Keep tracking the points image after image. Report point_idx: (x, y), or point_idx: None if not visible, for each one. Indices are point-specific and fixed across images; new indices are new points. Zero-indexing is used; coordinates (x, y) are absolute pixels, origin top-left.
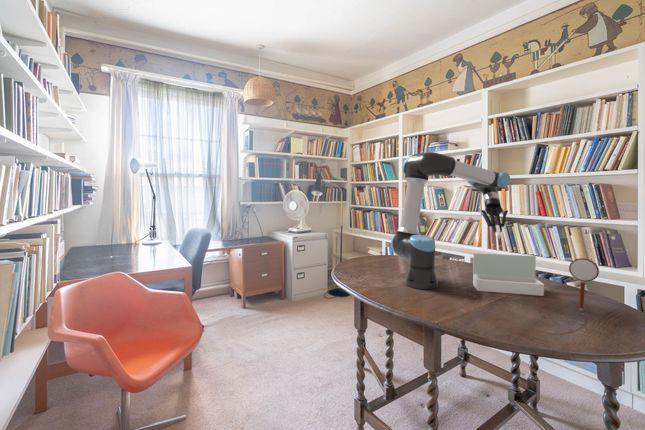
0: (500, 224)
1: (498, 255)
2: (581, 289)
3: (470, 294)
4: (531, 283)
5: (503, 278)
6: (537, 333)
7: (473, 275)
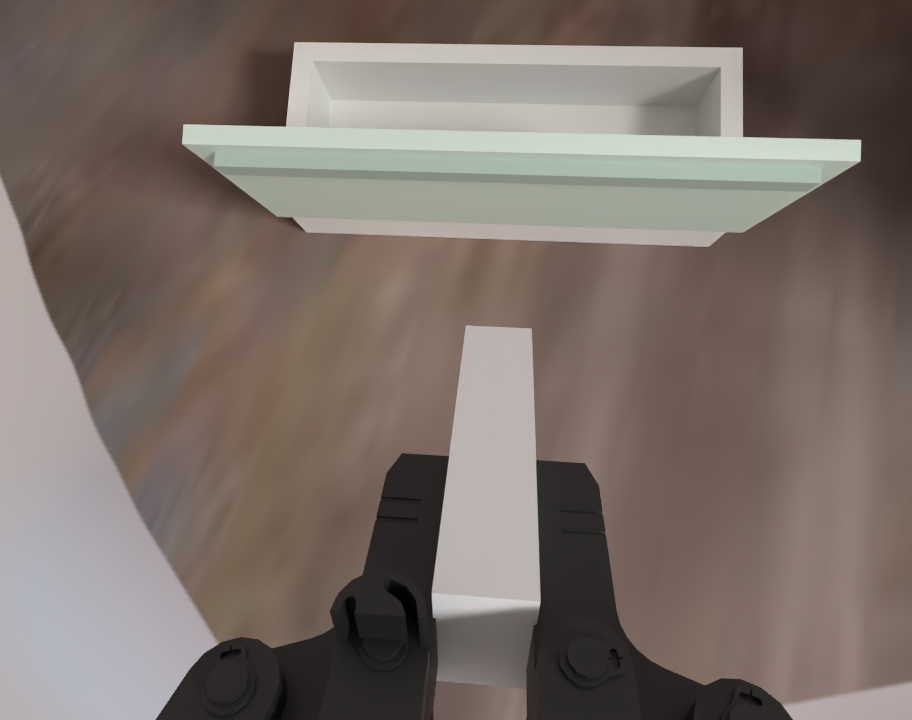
0: (386, 579)
1: (567, 137)
2: None
3: (767, 14)
4: (371, 46)
5: None
6: None
7: None
